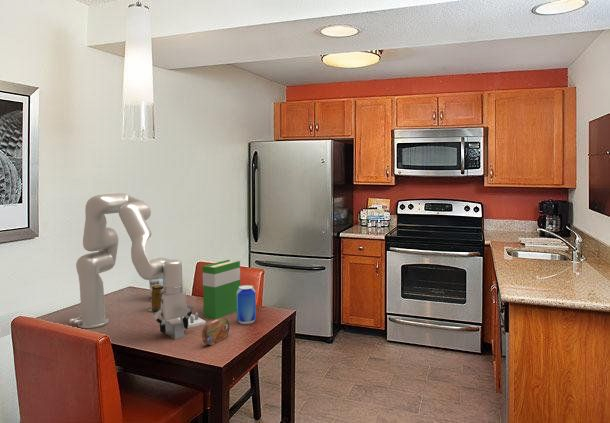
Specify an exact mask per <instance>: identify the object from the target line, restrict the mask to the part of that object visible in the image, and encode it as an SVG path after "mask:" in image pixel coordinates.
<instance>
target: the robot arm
mask: <svg viewBox="0 0 610 423" xmlns="http://www.w3.org/2000/svg"><path fill="white" fill-rule="evenodd" d="M84 213H85V220H84V228H83V236H82V245H83V250H85V251H87V252H89V253H86V254H83V255H82V256H80V257H79V258H77V260H76V262H75V267H76V272H77V275H78V282H79V296H80V299H79V300H80V314H79V316H77V317H73V318H69V322H68V323H69V324H74V325H75V324H77V327H78V328H81V329H94V328H95V329H96V328H101V327H104V326H106V325H107V324H108V323H109V318H108V317H106V315H105V314H106V311H105V292H104V290H105V289H104V288H105V287H104V281H103V279H102V277H101V276H100V274H101V273H105V272H107V271H108V272H109V271H110V270H112V269H113V268H114V267H115V265H116V261H117V254H118V248H119V235H118V233H117V232H116V230H115V229H113V228H112V227H107V217H106V215H108V214H109V215H110V214H111V215H112V214H118V215H119V218H120V220H121V223H122V225H123V226H124V228H125V231H126V232H127V234H128V237H129V239H130V241H131V249H130V256H131V257H130V258H131V262H132V265H133V266H134V269H135V270H136V272H137V274H138V275H139V277H140V278H142V279H143V280H146V281H149V280H151V279H154V278H156V277H160V276H163V282H164V287H163V289H161V290H160V291H161V293H162V292H163V293H164V294H162V300H161V309H160V310H159V311H158V312H156V313H155V314H154V313H153V315H152V316H153V319H154V320H155V322H157V323H159V330H160V333H162V334H163V335H166V327H165V322H166V320H170V319H175V318H179V317H184V318H183V323H184V328H186V329H185V330H188V329H189V328H188V319H189V317H190V316H191V314H193V311H194V309H195V307H194V306H191V305H189V304H188V300H187V296H186V292H185V291H184V289H183V286H184V284H183V263H182V261H181V260H180V259H169V258H165V257H158V258H154V259H153V258H152V259H149V257H148V255H147V252H146V244H147V241H149V239H151V237H152V231H151V229H150V227H149V225H148V223H147V220H149V218H150V217H151V214H152V210H151V208H150V205H149V204H148V203H147V202H145V201H143V200H141V199H138V198H137V197H134V196H132V195H129V194H127V193H122V192H121V193H120V192H119V193H118V192H117V193H105V194H104V193H103V194H98V195H97V194H96V195H94V196H92V197H90V198H89V199H88V200H87V201H86V204H85V212H84ZM188 309H189V311H188ZM159 316H161V317H160V318H159Z"/></svg>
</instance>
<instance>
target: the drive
mask: <svg viewBox="0 0 610 423" xmlns="http://www.w3.org/2000/svg"><path fill="white" fill-rule="evenodd" d="M164 324H165V327H166V333H165V335H168V336H169V337H171V338H172V339H173V340H178V339H183V338H185V329H184V323H183V322H182V321H180V320H179V319H177V318H175V319H170V320H166V322H165V323H164Z"/></svg>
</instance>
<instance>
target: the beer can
mask: <svg viewBox="0 0 610 423" xmlns="http://www.w3.org/2000/svg"><path fill="white" fill-rule="evenodd" d="M256 299H257V298H256V289H255V288H254V285H249V284H245V285H240V286H239V289H238V291H237V311H236V320H237V321H238V323H239V324H241V325H250V324H254V322H255V321H256V318H257V308H256V306H257V303H256Z"/></svg>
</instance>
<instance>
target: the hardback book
mask: <svg viewBox="0 0 610 423" xmlns="http://www.w3.org/2000/svg"><path fill="white" fill-rule="evenodd" d="M239 286H241V261H240V260H237V261H231V260H230V259H225V260H221V261H218V262H213V263H210V264H206V265H202V295H203V296H202V297H203V298H202V299H203V301H202V303H203V305H202V306H203V307H202V308H203V318H207V319H210V320H211V319H212V320H216V319H218V318H224V317H226V316H228V315H230V314H233V313H235V312H236V313H237V291H238V289H239Z"/></svg>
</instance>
